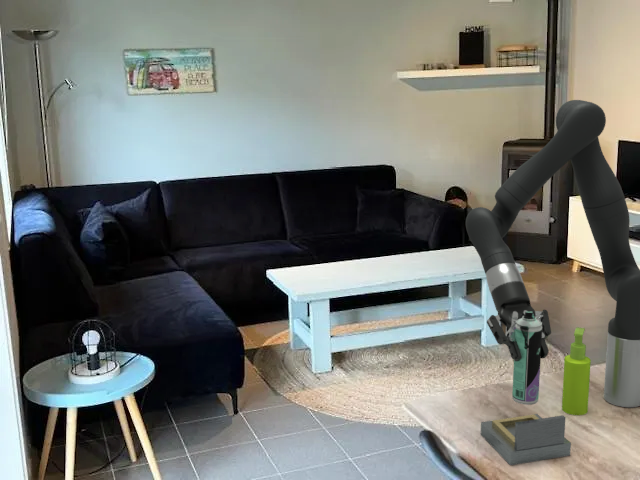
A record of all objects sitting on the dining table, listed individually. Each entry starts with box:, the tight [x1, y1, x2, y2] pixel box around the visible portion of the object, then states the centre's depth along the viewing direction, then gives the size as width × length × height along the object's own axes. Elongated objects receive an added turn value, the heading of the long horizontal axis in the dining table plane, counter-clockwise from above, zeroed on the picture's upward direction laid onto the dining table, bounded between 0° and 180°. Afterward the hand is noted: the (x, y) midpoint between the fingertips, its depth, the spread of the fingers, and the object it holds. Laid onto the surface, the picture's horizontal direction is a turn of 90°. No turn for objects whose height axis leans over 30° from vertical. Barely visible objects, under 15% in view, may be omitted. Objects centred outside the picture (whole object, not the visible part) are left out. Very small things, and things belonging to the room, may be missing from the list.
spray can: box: [511, 311, 542, 406], centre depth 162 cm, size 6×6×20 cm
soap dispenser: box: [561, 326, 592, 416], centre depth 180 cm, size 6×7×20 cm
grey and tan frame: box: [480, 413, 572, 466], centre depth 165 cm, size 14×14×9 cm
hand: (531, 358), depth 160 cm, fingers closed on spray can, 5 cm apart
